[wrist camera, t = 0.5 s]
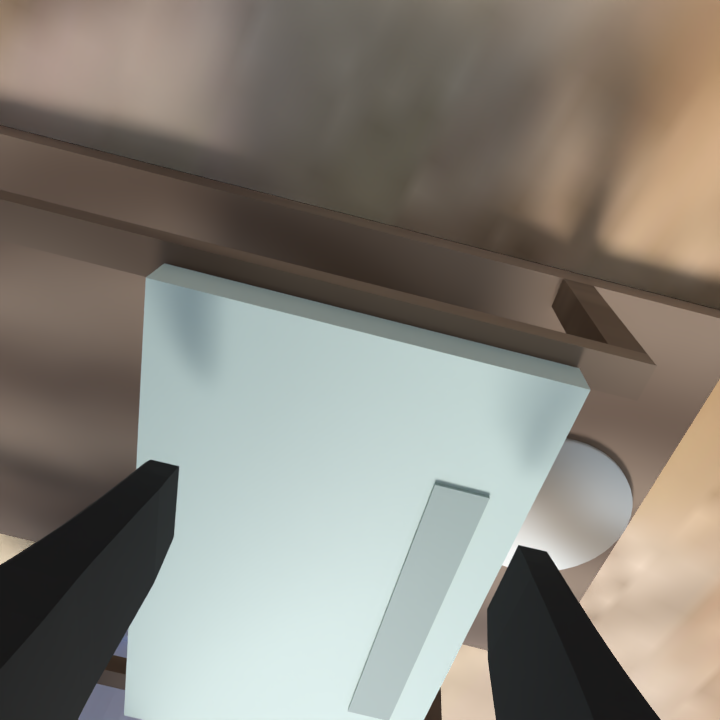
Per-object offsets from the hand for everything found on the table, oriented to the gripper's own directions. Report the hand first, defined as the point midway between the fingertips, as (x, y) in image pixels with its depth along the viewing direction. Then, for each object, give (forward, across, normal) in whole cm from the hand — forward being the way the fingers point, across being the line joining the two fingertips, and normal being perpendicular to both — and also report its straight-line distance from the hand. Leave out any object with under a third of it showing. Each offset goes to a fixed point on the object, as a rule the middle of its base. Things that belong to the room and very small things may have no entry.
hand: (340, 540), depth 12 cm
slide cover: (+3, +1, +5) cm, 6 cm away
